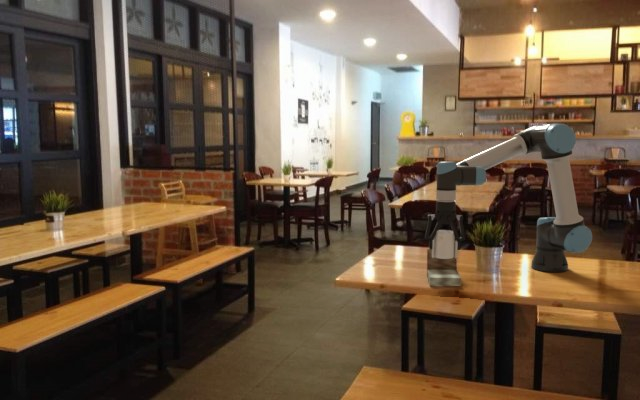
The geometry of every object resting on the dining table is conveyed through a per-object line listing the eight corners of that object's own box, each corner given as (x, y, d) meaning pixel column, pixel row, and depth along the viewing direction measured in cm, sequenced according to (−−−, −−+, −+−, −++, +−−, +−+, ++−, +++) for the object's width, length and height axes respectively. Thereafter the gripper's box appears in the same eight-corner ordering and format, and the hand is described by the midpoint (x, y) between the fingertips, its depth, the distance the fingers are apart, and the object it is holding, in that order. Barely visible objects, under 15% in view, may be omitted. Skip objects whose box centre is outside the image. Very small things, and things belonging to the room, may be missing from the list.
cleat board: (455, 276, 239) (456, 248, 237) (460, 286, 223) (461, 256, 221) (426, 275, 240) (427, 248, 239) (429, 286, 224) (430, 256, 223)
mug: (449, 261, 218) (449, 235, 217) (428, 259, 222) (428, 233, 221) (456, 256, 229) (457, 230, 228) (436, 254, 233) (437, 229, 232)
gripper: (471, 200, 225) (470, 256, 228) (418, 199, 228) (417, 254, 230) (474, 202, 218) (472, 260, 221) (419, 201, 220) (418, 258, 223)
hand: (444, 257), depth 225 cm, fingers closed on mug, 8 cm apart
